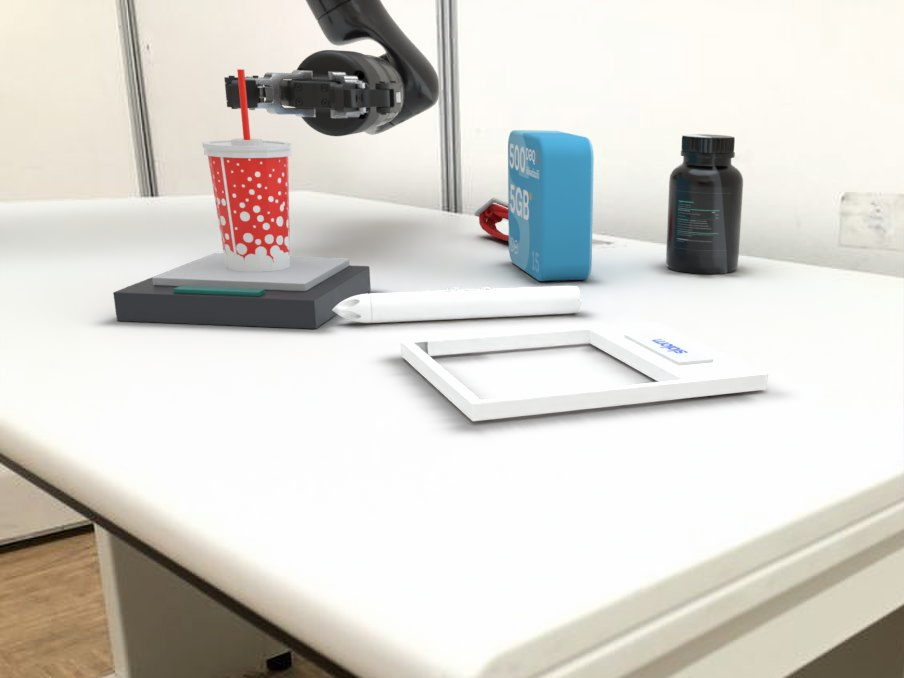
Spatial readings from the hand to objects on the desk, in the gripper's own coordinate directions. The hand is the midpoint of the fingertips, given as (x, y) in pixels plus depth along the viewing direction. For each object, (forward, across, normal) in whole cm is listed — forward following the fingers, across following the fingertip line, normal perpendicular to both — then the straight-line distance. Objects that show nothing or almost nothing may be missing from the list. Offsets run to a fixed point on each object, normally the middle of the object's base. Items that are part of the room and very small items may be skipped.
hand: (287, 96), depth 90 cm
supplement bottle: (-11, +35, +15) cm, 39 cm away
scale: (+13, +1, +14) cm, 19 cm away
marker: (+15, +17, +15) cm, 27 cm away
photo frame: (+29, +27, +14) cm, 42 cm away
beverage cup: (+11, +1, +12) cm, 17 cm away
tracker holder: (-24, +17, +15) cm, 33 cm away
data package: (-6, +21, +15) cm, 26 cm away
